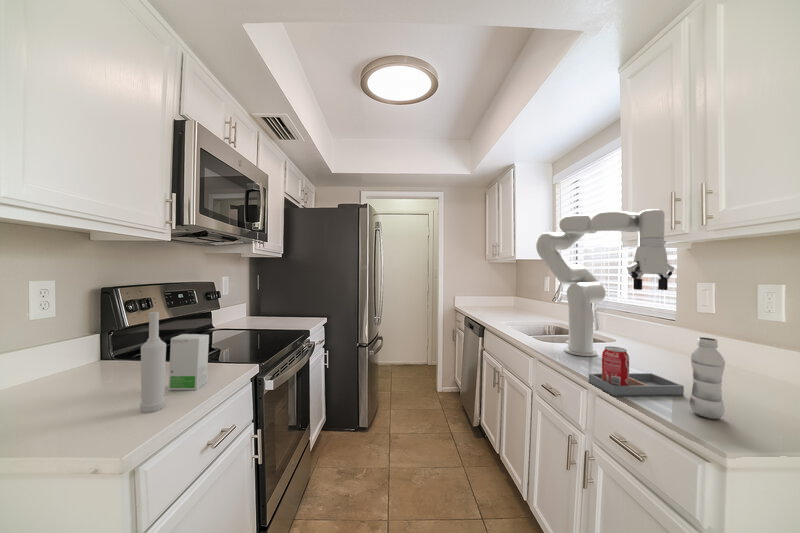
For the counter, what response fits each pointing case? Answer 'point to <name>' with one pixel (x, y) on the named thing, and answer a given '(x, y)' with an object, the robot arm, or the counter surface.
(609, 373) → the soda can
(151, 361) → the bottle
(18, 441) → the counter surface
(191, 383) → the skincare box
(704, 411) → the plastic bottle
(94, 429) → the counter surface
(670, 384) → the grey divided tray
